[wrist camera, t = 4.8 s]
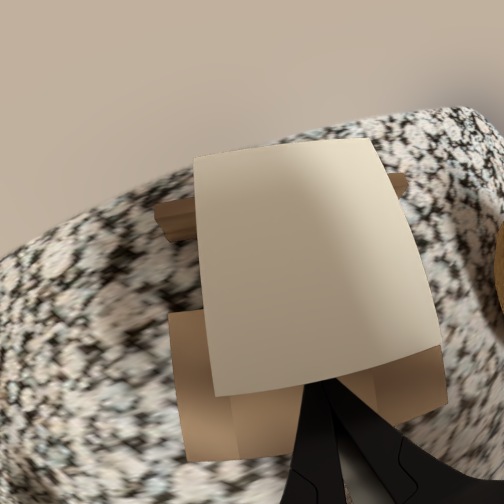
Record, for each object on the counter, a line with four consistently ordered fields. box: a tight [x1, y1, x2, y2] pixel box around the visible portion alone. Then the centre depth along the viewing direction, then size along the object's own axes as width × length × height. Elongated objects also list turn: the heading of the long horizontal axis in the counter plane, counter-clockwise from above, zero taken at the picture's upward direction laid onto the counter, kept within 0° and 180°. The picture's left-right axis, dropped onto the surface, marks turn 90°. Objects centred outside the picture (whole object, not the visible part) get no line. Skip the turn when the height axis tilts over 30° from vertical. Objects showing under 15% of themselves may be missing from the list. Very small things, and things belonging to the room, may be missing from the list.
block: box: [193, 138, 443, 397], centre depth 12 cm, size 7×6×9 cm
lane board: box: [154, 173, 448, 462], centre depth 15 cm, size 15×16×3 cm
